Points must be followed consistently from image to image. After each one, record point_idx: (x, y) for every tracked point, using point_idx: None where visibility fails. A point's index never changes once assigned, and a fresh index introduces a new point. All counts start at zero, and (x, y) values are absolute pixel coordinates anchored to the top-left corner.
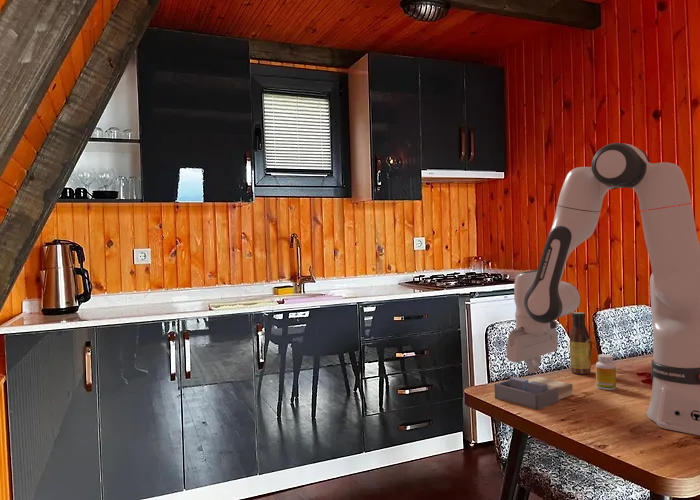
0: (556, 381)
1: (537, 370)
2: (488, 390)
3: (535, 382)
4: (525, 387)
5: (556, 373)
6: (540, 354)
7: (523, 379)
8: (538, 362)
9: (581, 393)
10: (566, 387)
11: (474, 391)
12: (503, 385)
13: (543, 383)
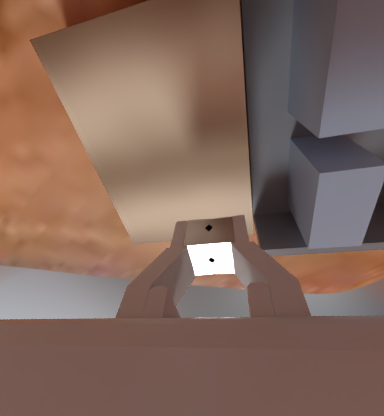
0: (97, 143)
1: (193, 221)
2: (320, 261)
3: (354, 93)
4: (335, 151)
5: (18, 258)
6: (145, 335)
7: (331, 195)
8: (169, 266)
9: (15, 32)
10: (98, 19)
11: (362, 275)
12: (372, 231)
13: (341, 20)
